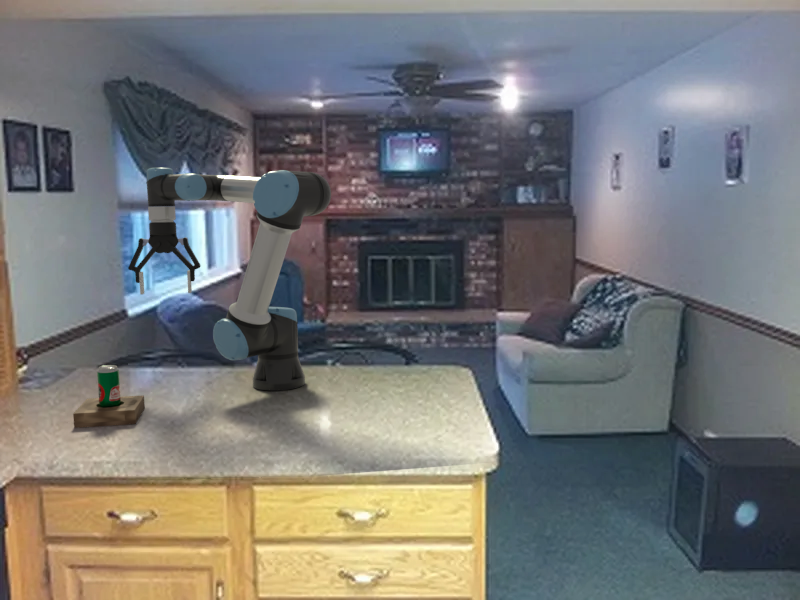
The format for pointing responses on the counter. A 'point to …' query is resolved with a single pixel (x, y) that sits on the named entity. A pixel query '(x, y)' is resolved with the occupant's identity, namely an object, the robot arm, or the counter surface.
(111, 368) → the soda can
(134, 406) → the board
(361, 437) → the counter surface
